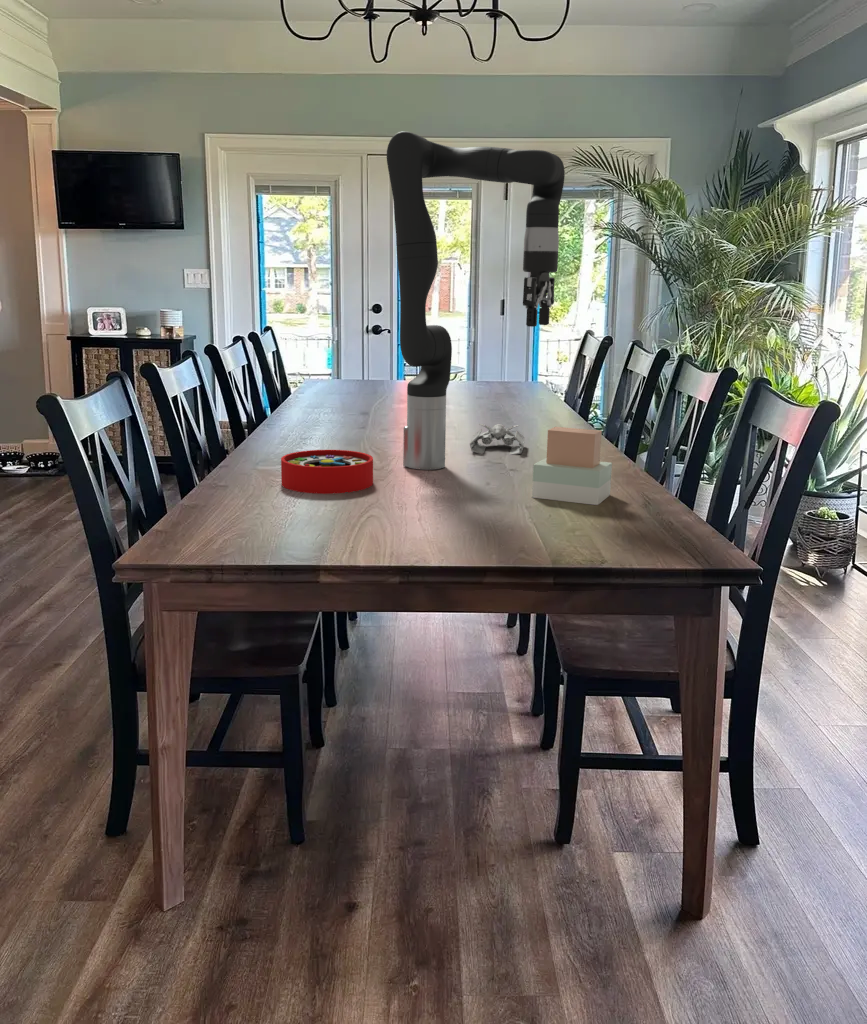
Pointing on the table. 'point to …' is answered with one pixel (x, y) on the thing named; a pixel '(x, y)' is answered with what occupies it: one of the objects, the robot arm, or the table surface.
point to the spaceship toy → (497, 433)
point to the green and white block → (571, 482)
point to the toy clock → (326, 471)
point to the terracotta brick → (574, 447)
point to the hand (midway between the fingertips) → (537, 325)
